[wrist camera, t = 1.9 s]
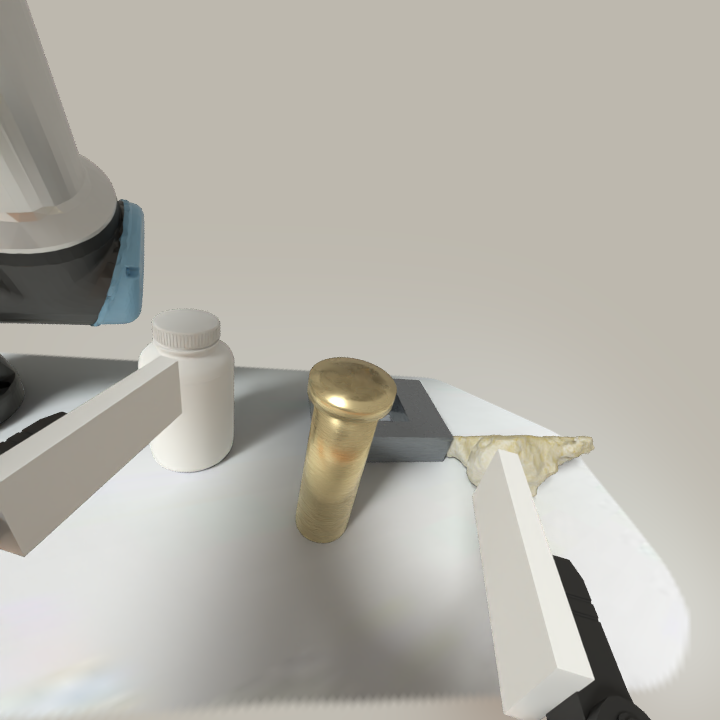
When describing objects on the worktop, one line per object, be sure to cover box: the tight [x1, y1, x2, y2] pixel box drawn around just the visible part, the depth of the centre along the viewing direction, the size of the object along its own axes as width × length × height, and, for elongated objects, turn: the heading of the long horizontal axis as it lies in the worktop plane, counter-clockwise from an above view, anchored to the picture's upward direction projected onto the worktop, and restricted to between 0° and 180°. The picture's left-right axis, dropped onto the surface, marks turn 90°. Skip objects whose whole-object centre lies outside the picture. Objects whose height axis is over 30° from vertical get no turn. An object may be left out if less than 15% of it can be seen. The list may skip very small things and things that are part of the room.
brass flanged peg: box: [295, 357, 397, 543], centre depth 28 cm, size 6×6×16 cm
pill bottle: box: [138, 309, 234, 472], centre depth 32 cm, size 8×8×15 cm
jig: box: [309, 379, 453, 462], centre depth 44 cm, size 16×12×4 cm
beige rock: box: [446, 435, 594, 497], centre depth 39 cm, size 15×7×15 cm
